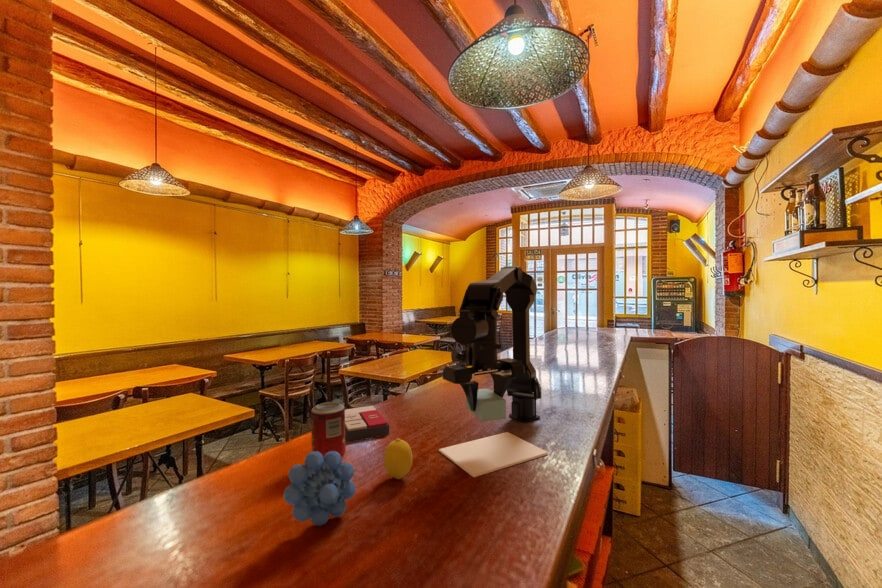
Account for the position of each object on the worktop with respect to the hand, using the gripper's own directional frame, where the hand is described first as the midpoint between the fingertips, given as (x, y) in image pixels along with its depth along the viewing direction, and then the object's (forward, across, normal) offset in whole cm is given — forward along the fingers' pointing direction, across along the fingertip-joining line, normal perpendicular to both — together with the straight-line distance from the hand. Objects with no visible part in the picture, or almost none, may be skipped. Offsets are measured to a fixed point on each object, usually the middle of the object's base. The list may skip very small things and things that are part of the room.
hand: (485, 408), depth 85 cm
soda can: (+11, +31, -15) cm, 36 cm away
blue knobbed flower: (+10, +37, +8) cm, 39 cm away
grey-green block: (+1, 0, 0) cm, 1 cm away
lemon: (+11, +21, 0) cm, 24 cm away
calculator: (+11, +19, -30) cm, 37 cm away
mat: (+10, -2, 0) cm, 11 cm away
